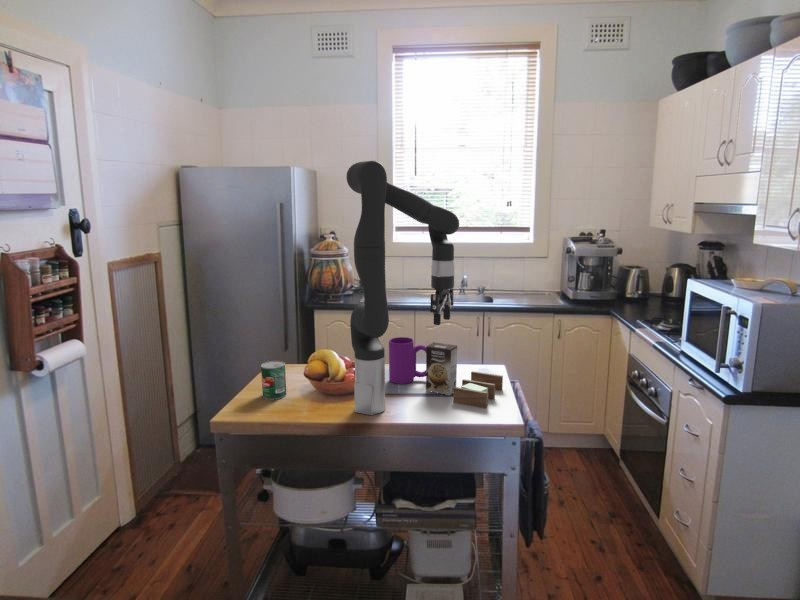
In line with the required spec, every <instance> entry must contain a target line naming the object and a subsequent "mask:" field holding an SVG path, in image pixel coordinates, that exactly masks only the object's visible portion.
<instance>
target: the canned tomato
mask: <svg viewBox="0 0 800 600" xmlns="http://www.w3.org/2000/svg"><path fill="white" fill-rule="evenodd" d="M260 373H261V389H262V398H263V399H264V398H265V400H267V399H270V400H269V401H273V400H274V399H276V400H280V398H281V399H283V398H285V397H286V396H287V378H286V362H285V361H281V360H271V361H265V362H262V363H261V365H260ZM274 401H275V400H274Z"/></svg>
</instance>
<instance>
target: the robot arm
mask: <svg viewBox="0 0 800 600" xmlns="http://www.w3.org/2000/svg"><path fill="white" fill-rule="evenodd" d="M387 175H388V174H387V171H386V169H385V167H384V166H383V164H382V163H380V162H379V161H376V160H367V161H365V160H364V161H359V162H356V163H353V164H352V165H351V166H350V167H349V168H348V169H347V172H346V178H345V179H346V182H347V185H348V187H349V188H350V189H351V190H352V191H353V192H354V193H357V194H359V195H361V197H360V198H361V211H360V213H361V214H360V218H359V221H358V225H357V227H356V230H355V233H354V238H353V260H354V265H355V266H354V267H355V270H356V273H357V275H358V279H359V281H360V283H361V287H362V290H363V301H364V302H363V303H361V304H358V305H357V306H355V307H354V308H353V310H352V312H351V315H350V337H351V339H350V340H351V346H352V348H353V351H354V377H355V378H354V380H355V382H354V384H353V386H354V387H353V388H354V389H353V390H354V391H353V392H354V412H355V413H358V414H363V415H367V416H373V415H376V414H380V413H382V412H385V410H386V376H385V375H386V369H385V368H386V367H385V366H386V365H385V364H386V363H385V361H386V360H385V358H386V356H385V354H386V353H385V352H386V351H385V347H384V345H383V344H382V343H381V341H380V339H379V338H381V337H382V336H383V335H384V334H385V333H386V331H387V329H388V327H389V321H390V320H389V318H390V317H389V315H390V314H389V307H388V300H387V299H388V298H387V283H386V282H387V281H386V238H385V236H386V235H385V233H386V232H385V231H386V230H385V229H386V227H385V226H386V222H385V221H386V220H385V219H386V217H385V211H386V209H385V208H386V205H388V206H390V207H392V208H394V209H395V210H397V211H399V212H401V213H403V214H405V215H406V216H408V217H410V218H412V219H413V220H415V221H417V222H419V223H420V224H425V225H427V227H428V234H429V238H430V243H431V247H432V249H431V250H432V253H431V254H432V255H431V270H430V271H431V276H430V277H431V278H430V281H431V284H430V286H431V288H432V289H433V290H435V293H430V305H429V306H430V309H429V310H430V313H432V314H433V325H435V326H441V323H442V321H441V316H442V315H441V314H442V313H441V312H442V311H443V320H446V321H448V320H451V310H452V307H453V306H454V287H455V259H454V258H455V246H454V244H453V242H452V241H449V240H448V236H447V235H449V236H450V235H453V234H455V233H456V232H457V231H458V230H459V229H460V228H459V227H460V220H459V218H458V217H457V215H456V214H455V213H454V212H452V211H450V210H449V209H446V208H444V207H442V206H438V205H436V204H433V203H432V202H431V201H429V200H428V199H425V198H424V197H422V196H421V195H419V194H417V193H415V192H413V191H411V190H408V189H405V188H402V187H400V186H397V185H395V184H393V183H391V182H389V181H388V177H387ZM442 309H443V310H442Z"/></svg>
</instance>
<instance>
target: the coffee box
mask: <svg viewBox="0 0 800 600" xmlns="http://www.w3.org/2000/svg"><path fill="white" fill-rule="evenodd" d="M425 347H426V352H425V353H426V357H425V359H426V360H425V362H426V363H425V367H426V368H425V369H426V376H425V392H427V391H432V392H438V393H442V394H441V395H443V394H445V396H451V395H453V394H454V393H453V392H454V387H457V370H458V369H457V368H458V363H457V362H458V345H455V344H451V343H450V344H448V343H443V342H442V343H441V342H435V341H433V342H431V343H429V344H427V345H425ZM432 392H431V393H432ZM438 393H437V394H438Z"/></svg>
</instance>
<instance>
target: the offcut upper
mask: <svg viewBox="0 0 800 600" xmlns="http://www.w3.org/2000/svg"><path fill="white" fill-rule="evenodd" d="M460 388H465V389H471V390H477V391H483V392H488V388H486V387H483V386H479V385H476V384H472V383H468V384H466V385H464V386H462V385H461V387H460Z"/></svg>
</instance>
